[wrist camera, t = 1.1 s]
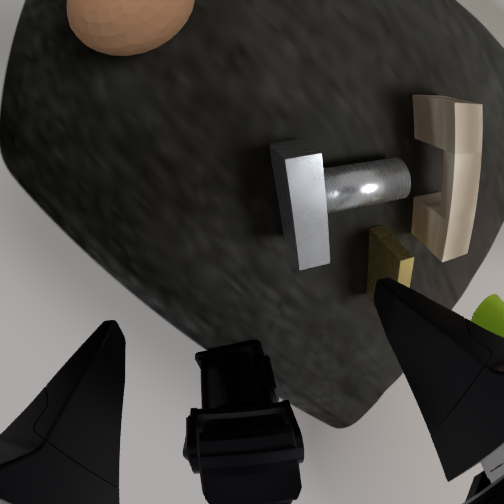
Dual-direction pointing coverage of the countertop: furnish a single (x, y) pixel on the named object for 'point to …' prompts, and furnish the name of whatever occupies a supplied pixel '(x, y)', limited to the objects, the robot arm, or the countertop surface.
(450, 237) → the block
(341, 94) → the countertop surface
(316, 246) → the grey block with shaft
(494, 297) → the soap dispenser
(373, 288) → the block
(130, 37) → the egg
